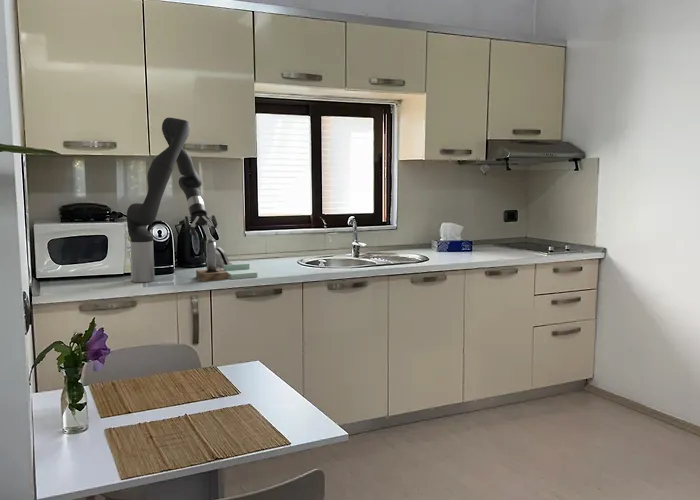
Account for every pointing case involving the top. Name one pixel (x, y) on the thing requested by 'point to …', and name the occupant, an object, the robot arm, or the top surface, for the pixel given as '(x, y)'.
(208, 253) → the rod
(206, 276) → the socket block
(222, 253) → the grey curved piece
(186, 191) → the robot arm
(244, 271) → the rack base
